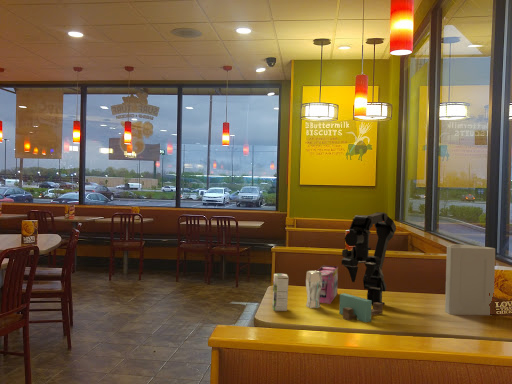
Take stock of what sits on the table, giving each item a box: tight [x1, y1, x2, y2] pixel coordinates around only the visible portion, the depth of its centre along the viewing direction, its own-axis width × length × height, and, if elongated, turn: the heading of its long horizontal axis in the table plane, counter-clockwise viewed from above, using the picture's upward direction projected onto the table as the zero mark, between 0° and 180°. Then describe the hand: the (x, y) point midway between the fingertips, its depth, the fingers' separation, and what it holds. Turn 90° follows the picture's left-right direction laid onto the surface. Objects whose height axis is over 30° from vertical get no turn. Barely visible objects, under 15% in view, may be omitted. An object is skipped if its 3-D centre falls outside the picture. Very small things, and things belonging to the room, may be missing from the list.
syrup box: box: [271, 273, 289, 312], centre depth 186 cm, size 6×6×14 cm
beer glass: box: [305, 270, 322, 309], centre depth 193 cm, size 7×7×15 cm
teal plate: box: [338, 292, 373, 323], centre depth 178 cm, size 14×3×8 cm, turn 35°
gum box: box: [316, 264, 339, 305], centre depth 210 cm, size 24×8×14 cm, turn 162°
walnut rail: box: [342, 302, 384, 321], centre depth 180 cm, size 20×3×4 cm, turn 125°
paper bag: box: [444, 243, 496, 316], centre depth 195 cm, size 19×15×28 cm
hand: (360, 281), depth 191 cm, fingers open, 9 cm apart
